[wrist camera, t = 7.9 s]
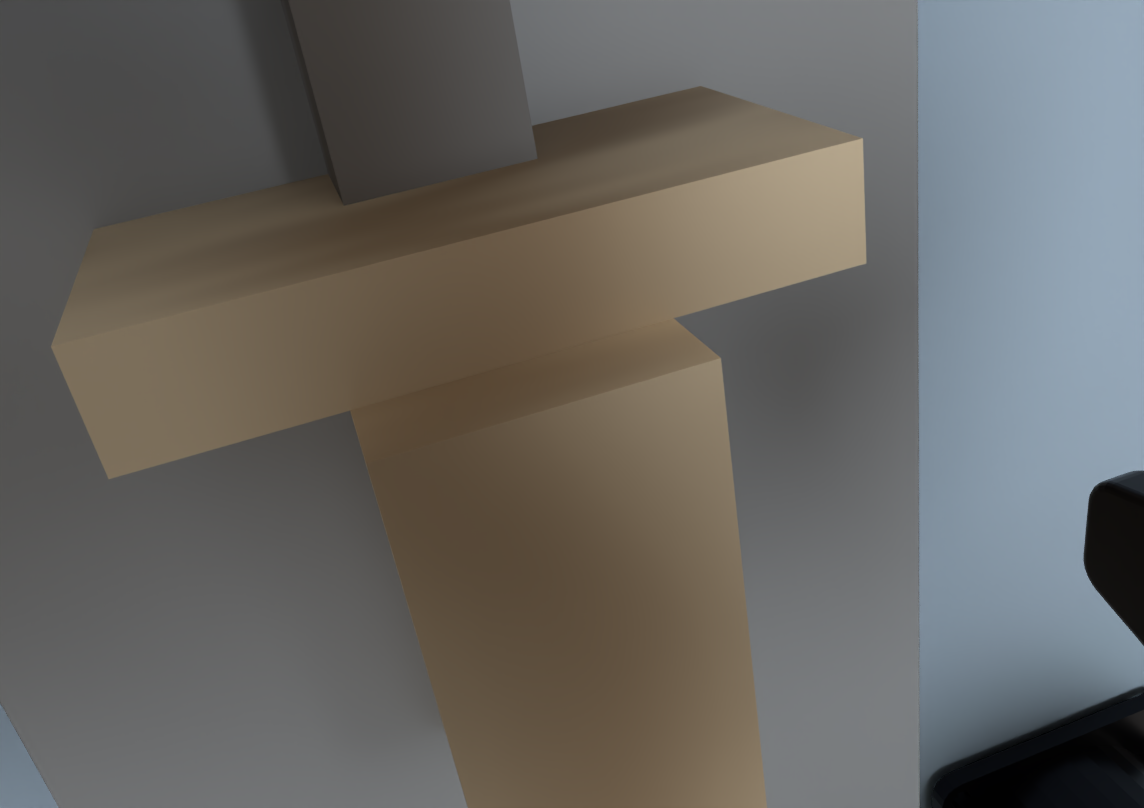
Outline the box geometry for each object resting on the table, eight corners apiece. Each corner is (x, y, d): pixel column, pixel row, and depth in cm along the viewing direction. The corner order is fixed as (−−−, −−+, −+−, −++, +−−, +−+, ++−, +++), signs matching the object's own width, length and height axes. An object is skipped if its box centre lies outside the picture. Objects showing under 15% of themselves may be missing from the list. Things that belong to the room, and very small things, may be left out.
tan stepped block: (792, -359, 11) (1131, -521, 7) (839, 589, 16) (1036, 797, 12) (-280, -207, 9) (-681, -315, 5) (202, 817, 14) (200, 1148, 10)
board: (783, -263, 14) (916, -306, 11) (839, 785, 23) (919, 893, 20) (-293, -89, 11) (-444, -92, 9) (257, 1017, 20) (264, 1176, 18)
